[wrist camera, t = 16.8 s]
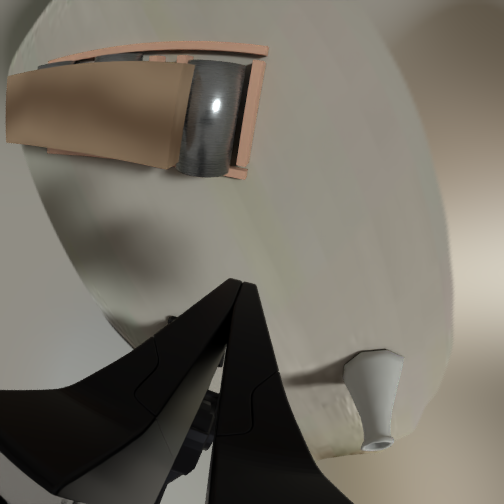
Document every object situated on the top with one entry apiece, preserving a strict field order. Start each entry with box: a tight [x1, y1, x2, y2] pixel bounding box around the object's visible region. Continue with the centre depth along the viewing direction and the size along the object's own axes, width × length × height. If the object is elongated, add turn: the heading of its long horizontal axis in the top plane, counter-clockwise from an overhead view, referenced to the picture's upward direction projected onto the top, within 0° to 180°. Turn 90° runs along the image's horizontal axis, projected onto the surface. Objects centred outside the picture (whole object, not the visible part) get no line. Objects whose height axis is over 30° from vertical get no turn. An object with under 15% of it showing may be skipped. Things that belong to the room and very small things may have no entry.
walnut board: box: [6, 61, 195, 170], centre depth 14 cm, size 6×17×2 cm, turn 77°
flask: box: [343, 350, 404, 451], centre depth 23 cm, size 7×7×10 cm
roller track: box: [47, 41, 269, 180], centre depth 17 cm, size 9×20×1 cm, turn 81°
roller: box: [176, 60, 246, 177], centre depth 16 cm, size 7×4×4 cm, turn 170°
